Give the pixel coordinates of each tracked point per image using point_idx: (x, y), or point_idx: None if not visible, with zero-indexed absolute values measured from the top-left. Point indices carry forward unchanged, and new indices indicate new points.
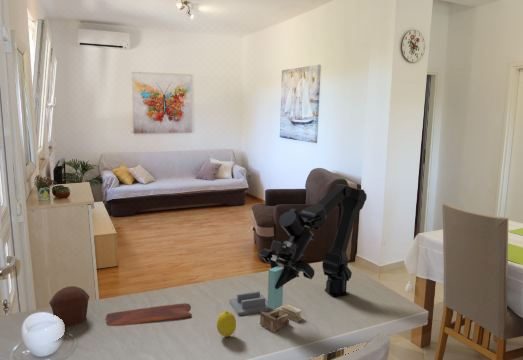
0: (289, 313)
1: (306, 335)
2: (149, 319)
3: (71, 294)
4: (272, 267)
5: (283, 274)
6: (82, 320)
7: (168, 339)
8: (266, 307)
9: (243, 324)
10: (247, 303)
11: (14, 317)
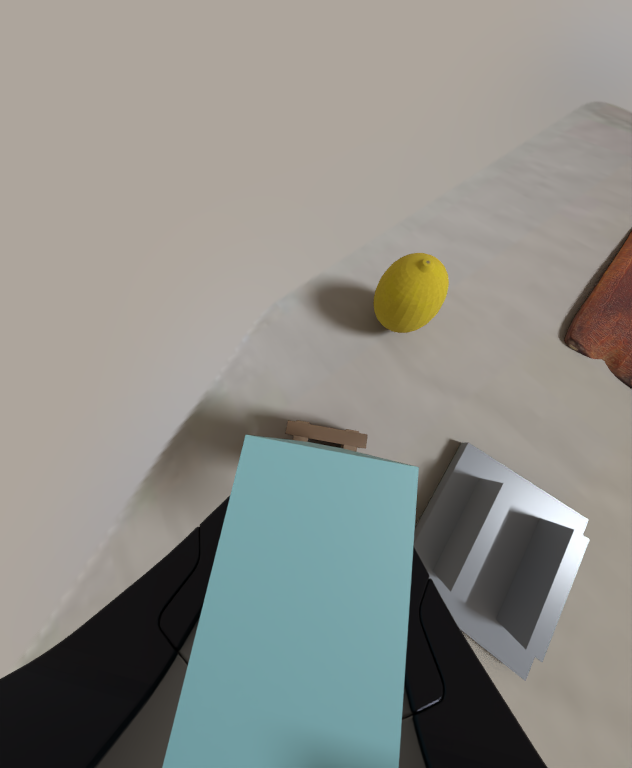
0: None
1: (197, 471)
2: (629, 252)
3: None
4: (496, 759)
5: (166, 594)
6: None
7: (497, 233)
8: None
9: (404, 404)
10: (484, 502)
11: None
